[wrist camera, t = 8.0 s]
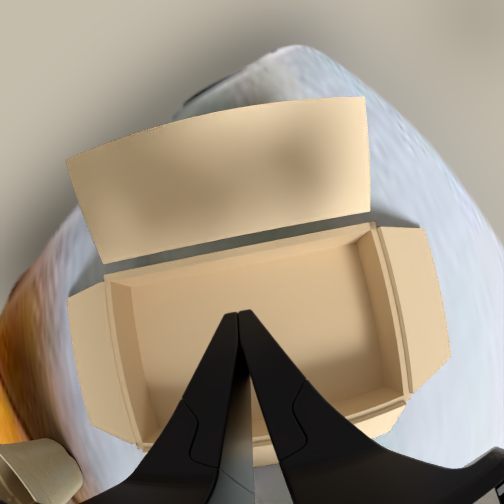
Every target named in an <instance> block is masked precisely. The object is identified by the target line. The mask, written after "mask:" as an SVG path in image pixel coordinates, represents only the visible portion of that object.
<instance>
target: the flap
mask: <svg viewBox="0 0 504 504" xmlns="http://www.w3.org/2000/svg"><path fill="white" fill-rule="evenodd" d="M66 164H67V168H68V171H69V174H70V178H71V181H72V184H73V187H74V190H75V193H76V196H77V199H78V202H79V205H80V208H81V210H82V213H83V216H84V219H85V221H86V224H87V226H88V229H89V231H90V234H91V236H92V239H93V241H94V244H95V246H96V248H97V251H98V253H99V255H100V257H101V260H102V262H103V264H108V263H112V262H117V261H121V260H126V259H130V258H135V257H139V256H144V255H149V254H153V253H158V252H163V251H167V250H172V249H177V248H182V247H186V246H191V245H196V244H201V243H206V242H211V241H216V240H220V239H225V238H230V237H235V236H240V235H246V234H251V233H256V232H261V231H266V230H271V229H276V228H282V227H287V226H292V225H298V224H303V223H308V222H314V221H319V220H325V219H330V218H336V217H341V216H347V215H352V214H358V213H364V212H370V160H369V141H368V128H367V116H366V106H365V98H364V97H335V98H316V99H303V100H292V101H282V102H274V103H266V104H259V105H252V106H246V107H240V108H234V109H229V110H223V111H218V112H213V113H209V114H204V115H200V116H195V117H191V118H187V119H183V120H179V121H175V122H171V123H168V124H164V125H160V126H157V127H154V128H150V129H147V130H144V131H141V132H137V133H135V134H131V135H128V136H125V137H122V138H120V139H117V140H114V141H111V142H108V143H106V144H103V145H100V146H98V147H95V148H93V149H90V150H88V151H85V152H83V153H80V154H78V155H76V156H73V157H71V158H69V159H67V160H66Z"/></svg>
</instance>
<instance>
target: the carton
mask: <svg viewBox="0 0 504 504" xmlns="http://www.w3.org/2000/svg"><path fill="white" fill-rule="evenodd" d="M67 304H68V315H69V324H70V332H71V339H72V346H73V352H74V358H75V363H76V368H77V373H78V378H79V383H80V387H81V391H82V395H83V399H84V403H85V407H86V410H87V414H88V417H89V421H90V424H91V425H93V426H95V427H97V428H99V429H101V430H103V431H105V432H107V433H109V434H111V435H113V436H115V437H117V438H120V439H122V440H124V441H126V442H129V443H131V444H135V443H136V444H137V447H138V449H143V452H144V453H145V454H147V453H148V451H149V450H150V448H151V447H152V445H153V444H154V443H155V441H156V440H157V438H158V437H159V435H160V434H161V432H162V431H163V429H164V428H165V426H166V425H167V423H168V421H169V420H170V418H171V416H172V414H173V412H174V411H175V409H176V407H177V405H178V403H179V401H180V399H182V395H183V393H184V392H185V390H186V388H187V386H188V384H189V382H190V380H191V378H192V376H193V374H194V372H195V370H196V368H197V366H198V364H199V362H200V360H201V358H202V356H203V355H204V353H205V351H206V349H207V347H208V345H209V343H210V341H211V339H212V337H213V335H214V333H215V331H216V329H217V327H218V325H219V323H220V321H221V319H222V317H223V315H224V314H226V313H230V312H237V313H238V312H239V311H241V310H247V309H251V310H252V311H253V312H254V313H255V315H256V316H257V317H258V318H259V320H260V321H261V322H262V324H263V325H264V326H265V327H266V329H267V330H268V331H269V332H270V334H271V335H272V336H273V337H274V339H275V340H276V341H277V342H278V344H279V345H280V346H281V347H282V349H283V350H284V351H285V352H286V354H287V355H288V356H289V357H290V359H291V360H292V361H293V362H294V363H295V365H296V366H297V367H298V368H299V370H300V371H301V372H302V373H303V374H304V376H305V377H306V379H307V380H309V381H310V383H311V384H312V385H313V386H314V387H315V389H316V390H317V391H318V392H319V393H320V394H321V395H322V396H323V397H324V398H325V399H326V401H328V402H329V403H330V404H331V405H332V406H333V407H334V408H335V409H336V410H337V411H338V412H339V413H341V414H342V415H343V416H344V417H345V418H346V419H348V420H349V421H350V422H351V423H352V424H354V425H355V426H356V427H357V428H358V429H360V430H361V431H362V432H363V433H365V434H366V435H367V436H368V437H370V438H371V439H372V438H374V437H377V436H380V435H382V434H385V433H387V432H389V431H390V429H391V428H392V426H393V425H394V423H395V422H396V420H397V419H398V417H399V416H400V414H401V412H402V411H403V409H404V408H405V406H406V402H405V401H408V400H410V399H411V397H410V393H414V392H415V391H416V390H418V389H419V388H420V387H421V386H422V385H423V384H424V383H425V382H426V381H427V380H428V379H429V378H430V377H431V376H432V375H433V374H434V373H435V372H436V371H437V370H438V369H439V368H440V367H441V366H442V365H443V364H444V363H445V362H446V361H447V360H448V359H449V358H450V357H451V354H450V345H449V337H448V330H447V323H446V317H445V311H444V306H443V300H442V295H441V291H440V286H439V281H438V277H437V273H436V269H435V265H434V261H433V257H432V254H431V250H430V247H429V243H428V240H427V237H426V233H425V230H424V228H404V227H378V228H377V225H376V222H375V221H373V222H368V223H362V224H357V225H352V226H347V227H341V228H336V229H331V230H326V231H320V232H315V233H310V234H305V235H300V236H295V237H289V238H284V239H279V240H274V241H269V242H264V243H259V244H254V245H248V246H243V247H238V248H233V249H228V250H223V251H218V252H213V253H208V254H203V255H198V256H193V257H188V258H183V259H178V260H173V261H168V262H164V263H159V264H154V265H149V266H144V267H139V268H134V269H129V270H125V271H120V272H115V273H110V274H105V275H104V282H99V283H97V284H95V285H93V286H91V287H89V288H87V289H85V290H83V291H81V292H79V293H77V294H75V295H73V296H71V297H69V298H67ZM250 379H251V377H250ZM251 409H252V441H253V467H259V466H266V465H272V464H278V463H279V462H278V459H277V456H276V453H275V450H274V448H273V445H272V442H271V439H270V436H269V433H268V430H267V427H266V424H265V421H264V418H263V415H262V412H261V409H260V405H259V402H258V399H257V396H256V393H255V390H254V387H253V383H252V380H251Z"/></svg>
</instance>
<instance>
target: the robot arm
mask: <svg viewBox="0 0 504 504" xmlns="http://www.w3.org/2000/svg"><path fill="white" fill-rule="evenodd" d="M250 377H251V379H250ZM251 380H252V383H253V387H254V390H255V393H256V396H257V399H258V402H259V405H260V409H261V412H262V415H263V418H264V421H265V424H266V427H267V430H268V433H269V436H270V439H271V442H272V445H273V448H274V450H275V453H276V456H277V459H278V462H279V465H280V468H281V470H282V473H283V476H284V479H285V482H286V484H287V487H288V490H289V493H290V495H291V498H292V501H293V504H504V449H502V448H499V447H494V448H492V449H490V450H489V451H487V452H486V453H484V454H483V455H481V456H480V457H478V458H477V459H475V460H474V461H472V462H471V463H469V464H467V465H466V466H464V467H463V468H458V469H451V468H445V467H441V466H437V465H434V464H430V463H427V462H424V461H420V460H417V459H414V458H411V457H408V456H405V455H402V454H399V453H396V452H393V451H391V450H388V449H386V448H385V447H383V446H381V445H379V444H378V443H376V442H375V441H374V440H372V439H371V438H370V437H368V436H367V435H366V434H365V433H363V432H362V431H361V430H360V429H358V428H357V427H356V426H355V425H354V424H352V423H351V422H350V421H349V420H348V419H346V418H345V417H344V416H343V415H342V414H341V413H339V412H338V411H337V410H336V409H335V408H334V407H333V406H332V405H331V404H330V403H329V402H328V401H326V399H325V398H324V397H323V396H322V395H321V394H320V393H319V392H318V391H317V390H316V389H315V387H314V386H313V385H312V384H311V383H310V381H309V380H307V379H306V377H305V376H304V374H303V373H302V372H301V371H300V370H299V368H298V367H297V366H296V365H295V363H294V362H293V361H292V360H291V359H290V357H289V356H288V355H287V354H286V352H285V351H284V350H283V349H282V347H281V346H280V345H279V344H278V342H277V341H276V340H275V339H274V337H273V336H272V335H271V334H270V332H269V331H268V330H267V329H266V327H265V326H264V325H263V324H262V322H261V321H260V320H259V318H258V317H257V316H256V315H255V313H254V312H253V311H252V310H251V309H247V310H241V311H239V312H238V313H237V312H230V313H226V314H224V315H223V317H222V319H221V321H220V323H219V325H218V327H217V329H216V331H215V333H214V335H213V337H212V339H211V341H210V343H209V345H208V347H207V349H206V351H205V353H204V355H203V356H202V358H201V360H200V362H199V364H198V366H197V368H196V370H195V372H194V374H193V376H192V378H191V380H190V382H189V384H188V386H187V388H186V390H185V392H184V393H183V395H182V399H180V401H179V403H178V405H177V407H176V409H175V411H174V412H173V414H172V416H171V418H170V420H169V421H168V423H167V425H166V426H165V428H164V429H163V431H162V432H161V434H160V435H159V437H158V438H157V440H156V441H155V443H154V444H153V445H152V447H151V448H150V450H149V451H148V453H147V454H146V455H145V457H144V458H143V460H142V461H141V462H140V464H139V465H138V467H137V468H136V469H135V470H134V472H133V473H132V474H131V475H130V476H129V477H128V478H127V479H125V480H124V481H123V482H121V483H120V484H118V485H116V486H114V487H112V488H110V489H108V490H106V491H104V492H103V493H100V494H98V495H96V496H94V497H92V498H90V499H88V500H86V501H84V502H81V503H79V504H255V499H254V495H253V494H254V472H253V441H252V409H251ZM0 504H12V503H9V502H7V501H5V500H3V499H1V498H0ZM30 504H42V503H39V502H36V501H33V502H32V503H30Z"/></svg>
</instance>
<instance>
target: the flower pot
mask: <svg viewBox="0 0 504 504" xmlns="http://www.w3.org/2000/svg"><path fill="white" fill-rule="evenodd" d="M82 484H83V477H82V473H81V471H80V468H79V466H78V464H77V463H76V461H75V460H74V459H73V458H72V457H71V456H69V454H68V453H67V452H66V450H65V448H64V447H63V446H61V445H60V444H59V443H57V442H56V441H54V440H51V439H48V438H43V439H38V440H32V441H26V442H19V443H12V444H0V498H1V499H3V500H5V501H7V502H9V503H12V504H30V503H32V502H33V501H36V502H39V503H42V504H66V503H67V502H68V501H69V500H70V498H71V497H72V496H73V495H74V494H75V493H76V492H77V491H78V490H79V489H80V487H81V486H82Z"/></svg>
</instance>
